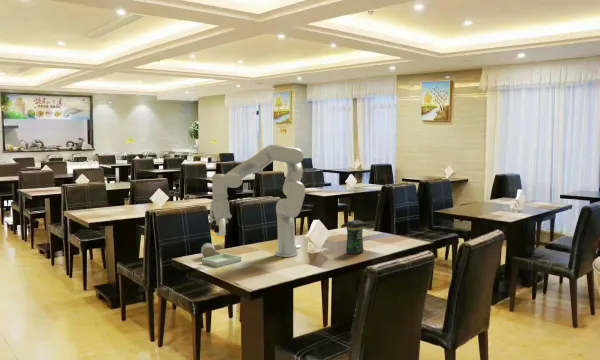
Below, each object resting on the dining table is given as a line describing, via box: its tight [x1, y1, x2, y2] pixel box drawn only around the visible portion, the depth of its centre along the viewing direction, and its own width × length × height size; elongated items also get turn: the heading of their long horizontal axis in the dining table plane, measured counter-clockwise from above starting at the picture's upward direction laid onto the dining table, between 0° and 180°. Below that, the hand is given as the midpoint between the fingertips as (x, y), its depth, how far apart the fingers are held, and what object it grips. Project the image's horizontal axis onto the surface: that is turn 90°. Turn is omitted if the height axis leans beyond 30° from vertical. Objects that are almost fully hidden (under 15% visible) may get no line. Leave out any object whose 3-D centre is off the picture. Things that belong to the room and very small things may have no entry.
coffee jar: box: [345, 219, 364, 255], centre depth 274 cm, size 10×8×19 cm
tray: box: [201, 252, 242, 268], centre depth 258 cm, size 16×13×3 cm
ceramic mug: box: [200, 242, 221, 258], centre depth 268 cm, size 11×8×8 cm
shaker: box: [215, 217, 227, 237], centre depth 256 cm, size 5×5×10 cm
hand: (220, 231), depth 256 cm, fingers closed on shaker, 5 cm apart
